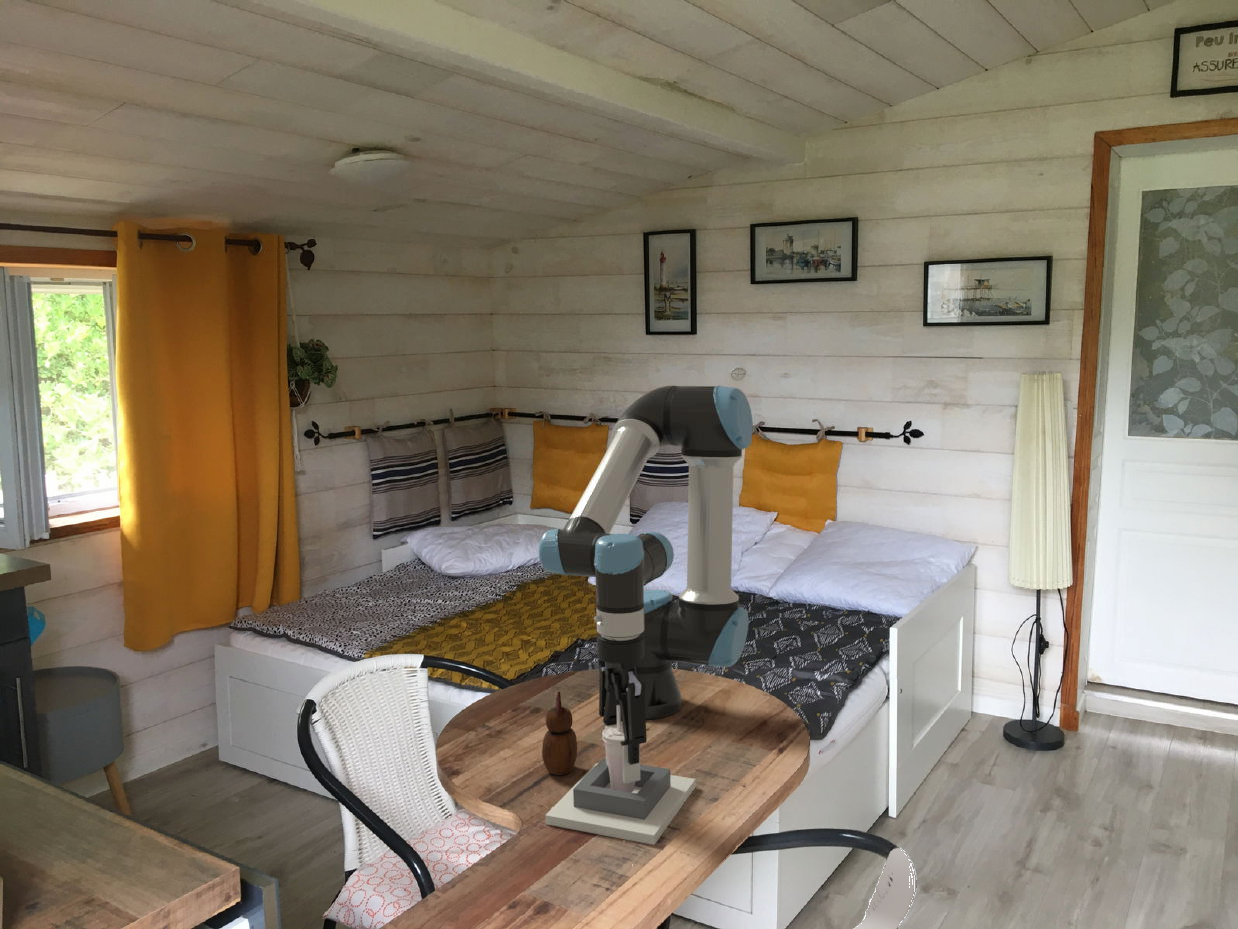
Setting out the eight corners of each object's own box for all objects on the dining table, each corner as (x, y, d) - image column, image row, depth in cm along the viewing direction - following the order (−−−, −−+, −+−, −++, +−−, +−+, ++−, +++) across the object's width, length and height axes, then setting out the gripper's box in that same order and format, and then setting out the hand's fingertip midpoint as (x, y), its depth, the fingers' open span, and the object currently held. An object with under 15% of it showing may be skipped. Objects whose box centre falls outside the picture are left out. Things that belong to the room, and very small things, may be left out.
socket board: (596, 771, 178) (596, 746, 177) (695, 787, 171) (695, 762, 170) (545, 824, 159) (544, 797, 159) (654, 845, 153) (653, 816, 152)
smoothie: (612, 777, 169) (611, 696, 167) (648, 783, 166) (647, 701, 164) (596, 794, 163) (595, 710, 161) (634, 801, 161) (632, 716, 159)
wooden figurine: (571, 780, 174) (569, 696, 172) (539, 778, 175) (536, 694, 173) (581, 763, 181) (579, 682, 179) (549, 761, 182) (547, 680, 180)
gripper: (576, 620, 168) (579, 753, 172) (622, 655, 151) (624, 802, 154) (618, 614, 171) (620, 745, 175) (668, 647, 154) (669, 792, 157)
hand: (622, 771), depth 164 cm, fingers closed on smoothie, 6 cm apart
